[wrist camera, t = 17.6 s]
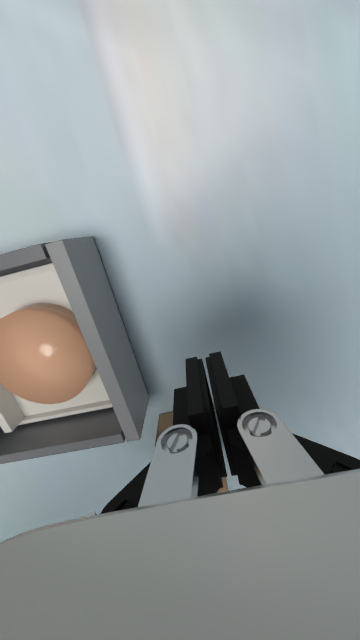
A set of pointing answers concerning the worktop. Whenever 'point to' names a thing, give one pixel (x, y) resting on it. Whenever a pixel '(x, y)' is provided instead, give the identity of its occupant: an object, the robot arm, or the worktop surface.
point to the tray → (97, 329)
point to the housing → (62, 430)
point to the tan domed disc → (44, 354)
